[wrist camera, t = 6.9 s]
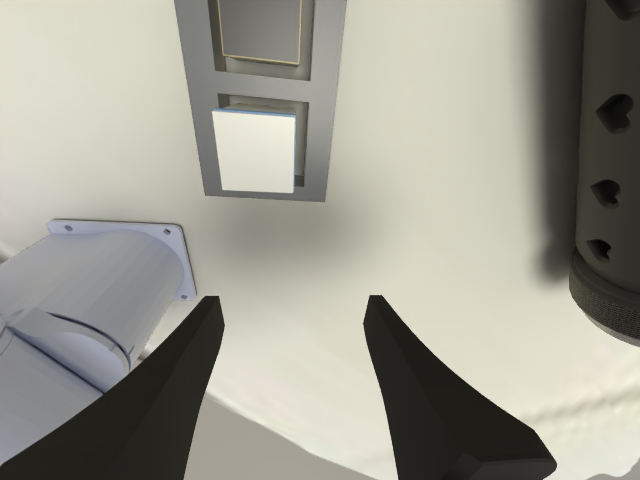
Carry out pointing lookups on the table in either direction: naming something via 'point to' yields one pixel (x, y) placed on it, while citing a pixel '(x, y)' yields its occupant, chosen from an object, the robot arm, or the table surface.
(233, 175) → the grey plug
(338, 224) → the table surface
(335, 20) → the socket board
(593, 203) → the muzzle brake
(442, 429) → the robot arm
